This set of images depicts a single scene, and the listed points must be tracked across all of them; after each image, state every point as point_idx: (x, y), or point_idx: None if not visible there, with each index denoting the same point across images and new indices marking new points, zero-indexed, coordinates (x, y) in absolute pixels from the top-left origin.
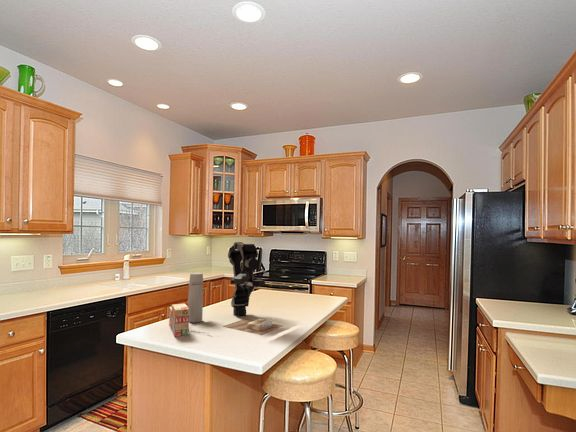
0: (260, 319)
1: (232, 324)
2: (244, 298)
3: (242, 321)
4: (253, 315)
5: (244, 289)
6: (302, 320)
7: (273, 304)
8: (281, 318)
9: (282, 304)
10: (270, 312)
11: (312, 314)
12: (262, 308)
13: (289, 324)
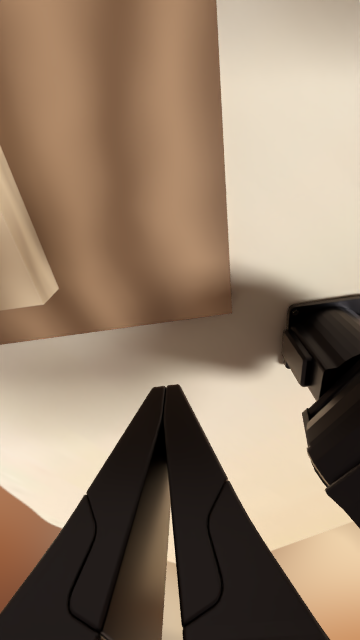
0: (21, 293)
1: (187, 110)
2: (343, 445)
3: (195, 246)
4: (281, 402)
5: (207, 602)
6: (45, 465)
7: (318, 527)
8: None
9: (286, 539)
10: (247, 467)
11: None
12: (322, 483)
13: (18, 405)
